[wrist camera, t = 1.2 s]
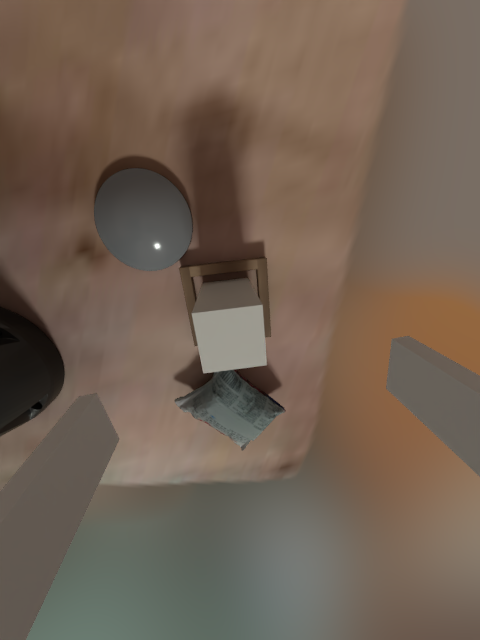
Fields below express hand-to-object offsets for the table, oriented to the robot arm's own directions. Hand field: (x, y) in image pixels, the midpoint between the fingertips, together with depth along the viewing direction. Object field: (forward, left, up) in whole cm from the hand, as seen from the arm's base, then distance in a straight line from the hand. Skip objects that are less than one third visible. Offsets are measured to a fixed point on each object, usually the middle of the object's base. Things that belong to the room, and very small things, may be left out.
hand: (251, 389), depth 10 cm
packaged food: (-2, -14, -17) cm, 22 cm away
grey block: (-1, -1, -17) cm, 17 cm away
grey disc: (-8, +8, -17) cm, 20 cm away
